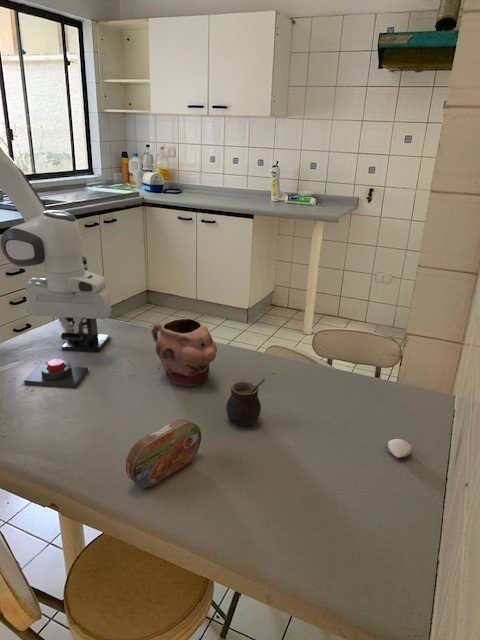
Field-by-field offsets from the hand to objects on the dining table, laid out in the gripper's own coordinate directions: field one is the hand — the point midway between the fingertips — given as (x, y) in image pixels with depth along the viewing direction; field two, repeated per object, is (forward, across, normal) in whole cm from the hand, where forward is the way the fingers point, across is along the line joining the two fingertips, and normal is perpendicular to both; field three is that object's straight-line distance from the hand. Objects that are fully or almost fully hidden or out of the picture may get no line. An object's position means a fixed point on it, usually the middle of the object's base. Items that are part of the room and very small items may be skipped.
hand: (72, 332), depth 117 cm
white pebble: (+8, +75, -30) cm, 81 cm away
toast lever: (0, 0, +5) cm, 5 cm away
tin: (+8, +32, -39) cm, 51 cm away
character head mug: (+8, +29, -5) cm, 30 cm away
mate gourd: (+8, +45, -22) cm, 51 cm away
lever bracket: (+7, 0, +9) cm, 11 cm away
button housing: (+7, 0, -10) cm, 13 cm away
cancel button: (+5, 0, -10) cm, 11 cm away
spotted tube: (+8, -8, +23) cm, 25 cm away
